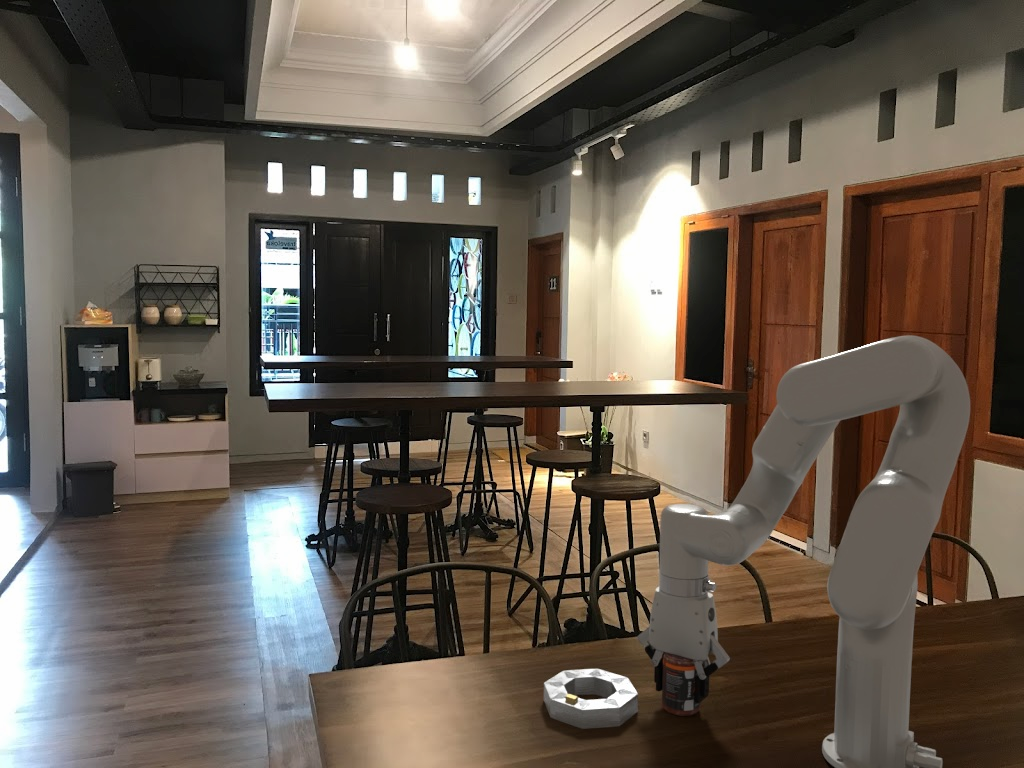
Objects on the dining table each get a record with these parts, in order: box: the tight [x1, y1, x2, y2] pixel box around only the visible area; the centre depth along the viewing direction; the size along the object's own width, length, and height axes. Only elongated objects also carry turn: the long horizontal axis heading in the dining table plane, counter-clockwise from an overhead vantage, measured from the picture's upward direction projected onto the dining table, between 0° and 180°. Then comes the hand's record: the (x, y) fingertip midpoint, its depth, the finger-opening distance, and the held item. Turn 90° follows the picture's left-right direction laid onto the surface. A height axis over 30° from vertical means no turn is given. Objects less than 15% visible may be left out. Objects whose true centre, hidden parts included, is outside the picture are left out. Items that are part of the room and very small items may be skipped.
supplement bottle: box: [661, 653, 701, 717], centre depth 132 cm, size 6×6×11 cm
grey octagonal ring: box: [543, 668, 639, 730], centre depth 133 cm, size 14×14×4 cm
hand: (681, 693), depth 132 cm, fingers closed on supplement bottle, 6 cm apart
